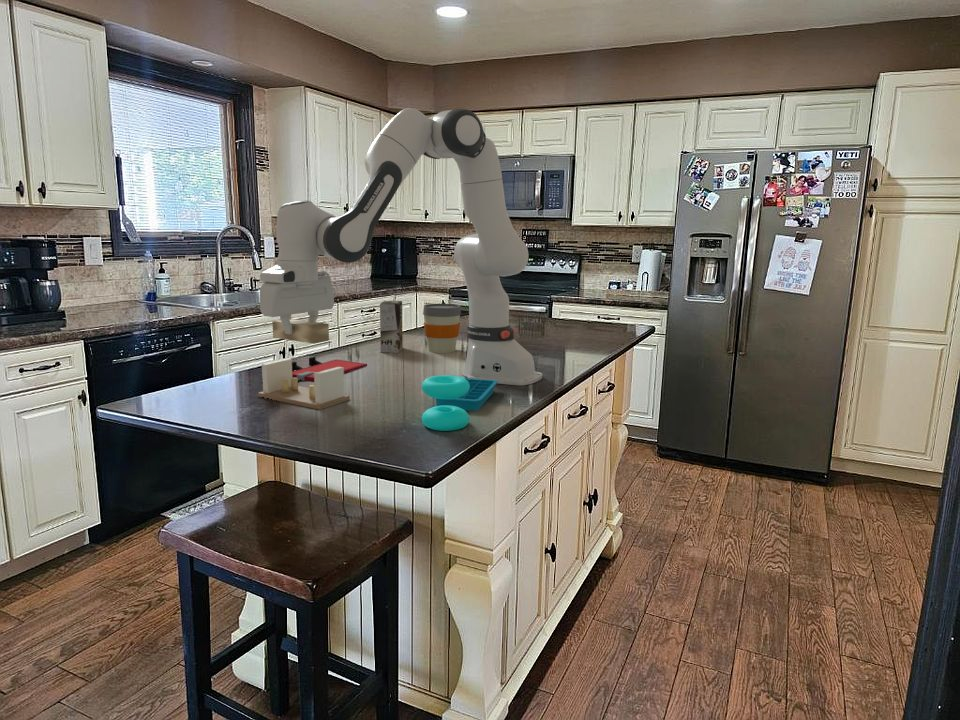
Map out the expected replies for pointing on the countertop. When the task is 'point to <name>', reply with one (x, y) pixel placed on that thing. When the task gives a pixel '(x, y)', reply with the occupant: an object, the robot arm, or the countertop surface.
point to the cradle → (287, 390)
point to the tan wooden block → (302, 331)
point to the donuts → (445, 414)
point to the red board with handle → (322, 368)
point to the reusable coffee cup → (441, 326)
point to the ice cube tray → (472, 395)
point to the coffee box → (391, 326)
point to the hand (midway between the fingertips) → (300, 332)
